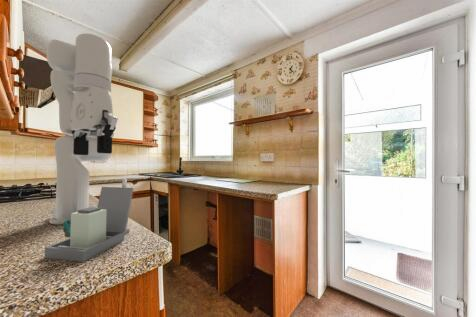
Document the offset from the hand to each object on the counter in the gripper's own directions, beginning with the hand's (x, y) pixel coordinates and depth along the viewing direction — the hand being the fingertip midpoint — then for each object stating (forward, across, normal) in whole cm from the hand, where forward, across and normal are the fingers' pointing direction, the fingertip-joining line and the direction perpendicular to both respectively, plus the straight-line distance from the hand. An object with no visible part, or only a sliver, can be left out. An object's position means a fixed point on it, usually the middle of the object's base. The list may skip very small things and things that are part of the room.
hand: (92, 154), depth 49 cm
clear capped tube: (+24, -3, +10) cm, 26 cm away
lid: (+15, -3, +7) cm, 17 cm away
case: (+24, -1, 0) cm, 24 cm away
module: (+23, -1, 0) cm, 23 cm away
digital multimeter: (+24, -20, +8) cm, 32 cm away
